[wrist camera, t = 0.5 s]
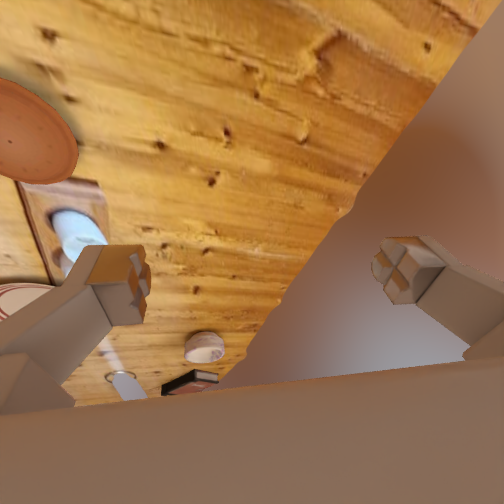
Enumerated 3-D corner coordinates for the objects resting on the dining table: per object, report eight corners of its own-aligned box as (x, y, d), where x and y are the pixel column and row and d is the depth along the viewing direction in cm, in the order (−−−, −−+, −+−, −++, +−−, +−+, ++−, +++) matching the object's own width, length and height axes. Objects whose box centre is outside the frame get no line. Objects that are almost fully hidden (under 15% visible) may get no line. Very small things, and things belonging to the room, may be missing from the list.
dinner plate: (-48, 298, 62) (-57, 310, 60) (38, 260, 58) (32, 272, 56) (54, 335, 82) (50, 345, 80) (123, 310, 78) (121, 319, 76)
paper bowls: (184, 329, 93) (183, 350, 88) (224, 326, 97) (226, 346, 91) (185, 345, 104) (184, 365, 99) (221, 342, 107) (223, 361, 102)
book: (187, 388, 147) (186, 398, 143) (161, 385, 135) (161, 395, 132) (219, 373, 137) (219, 383, 133) (194, 369, 125) (194, 379, 122)
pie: (-16, 164, 41) (-35, 181, 38) (-74, 48, 31) (-106, 57, 27) (91, 180, 46) (83, 196, 43) (74, 85, 35) (61, 96, 32)
